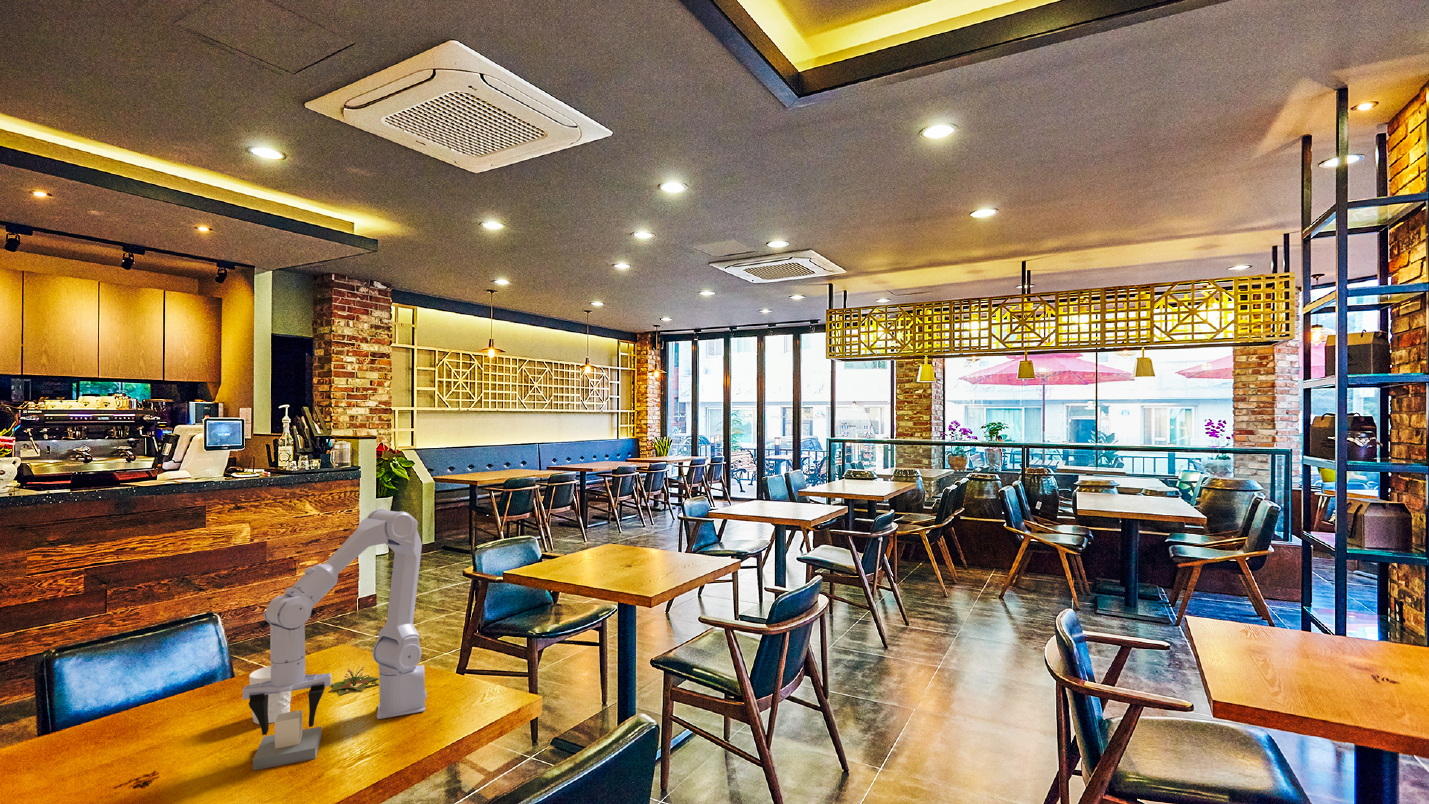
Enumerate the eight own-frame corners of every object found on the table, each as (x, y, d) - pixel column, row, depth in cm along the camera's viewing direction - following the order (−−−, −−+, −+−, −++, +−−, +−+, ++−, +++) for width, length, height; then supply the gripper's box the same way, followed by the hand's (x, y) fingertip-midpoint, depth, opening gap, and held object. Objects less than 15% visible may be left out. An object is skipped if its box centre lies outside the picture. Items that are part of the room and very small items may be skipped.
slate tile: (321, 736, 140) (321, 726, 140) (315, 758, 131) (315, 748, 131) (263, 746, 136) (263, 736, 136) (253, 770, 127) (252, 759, 127)
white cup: (271, 727, 145) (271, 679, 145) (240, 724, 146) (239, 677, 146) (301, 711, 152) (301, 665, 152) (271, 708, 154) (270, 663, 154)
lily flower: (320, 687, 167) (320, 668, 167) (373, 673, 175) (373, 655, 175) (333, 702, 158) (333, 682, 158) (389, 687, 166) (388, 668, 166)
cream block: (302, 735, 136) (302, 709, 136) (299, 744, 133) (299, 718, 133) (278, 739, 135) (278, 713, 135) (275, 748, 131) (274, 722, 131)
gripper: (238, 671, 127) (239, 745, 127) (328, 658, 133) (329, 729, 133) (247, 659, 134) (247, 729, 133) (332, 647, 139) (332, 715, 139)
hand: (288, 728), depth 133 cm, fingers open, 7 cm apart
